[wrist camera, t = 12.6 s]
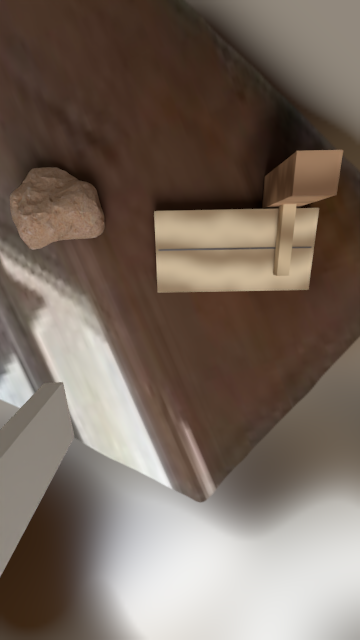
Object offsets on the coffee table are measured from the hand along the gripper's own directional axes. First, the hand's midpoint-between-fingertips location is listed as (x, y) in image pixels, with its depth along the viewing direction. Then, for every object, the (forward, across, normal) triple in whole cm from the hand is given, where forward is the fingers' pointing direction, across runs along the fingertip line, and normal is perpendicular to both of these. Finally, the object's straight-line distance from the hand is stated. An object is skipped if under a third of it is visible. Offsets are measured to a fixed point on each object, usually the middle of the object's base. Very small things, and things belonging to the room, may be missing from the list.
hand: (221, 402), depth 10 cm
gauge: (+32, +14, +8) cm, 36 cm away
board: (+33, +7, +5) cm, 34 cm away
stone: (+33, -18, +12) cm, 40 cm away
